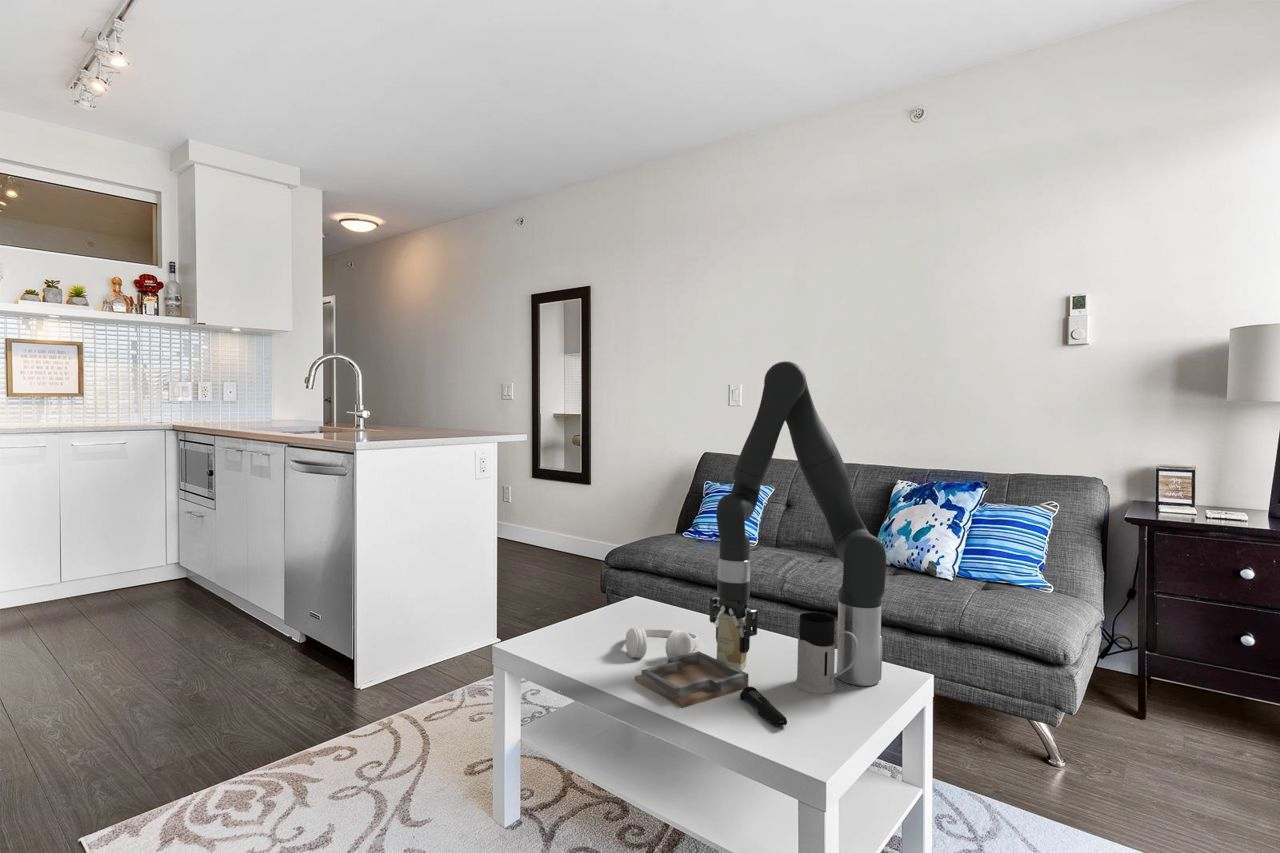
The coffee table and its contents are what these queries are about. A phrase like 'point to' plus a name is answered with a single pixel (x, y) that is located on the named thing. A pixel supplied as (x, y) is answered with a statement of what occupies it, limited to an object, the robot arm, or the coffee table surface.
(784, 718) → the electric trimmer
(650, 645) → the coffee table surface
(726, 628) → the skincare box
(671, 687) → the keyhole board
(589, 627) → the coffee table surface
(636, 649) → the headphones
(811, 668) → the glass holder
